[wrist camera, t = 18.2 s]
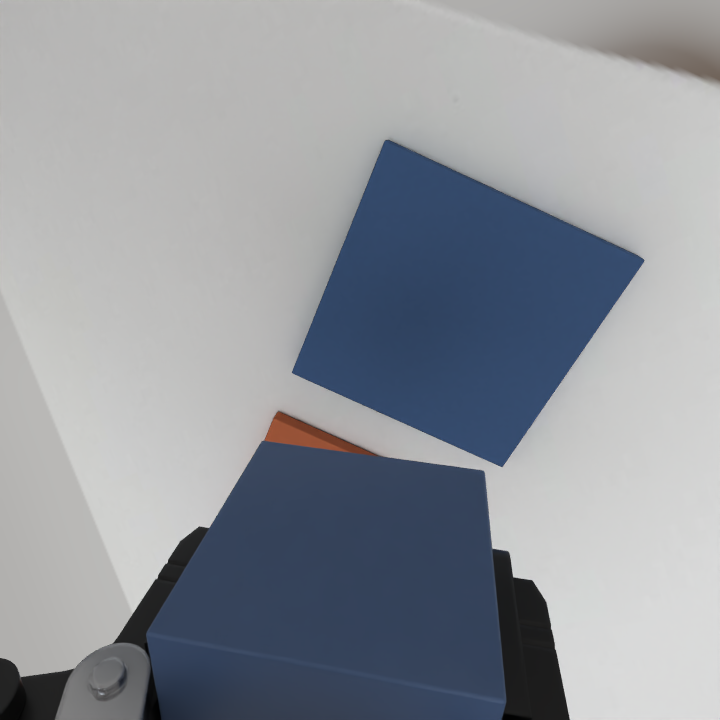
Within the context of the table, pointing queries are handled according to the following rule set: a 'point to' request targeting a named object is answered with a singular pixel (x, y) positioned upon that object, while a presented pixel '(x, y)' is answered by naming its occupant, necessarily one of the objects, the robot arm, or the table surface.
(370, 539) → the blue block
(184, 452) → the table surface
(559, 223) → the blue mat
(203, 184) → the table surface
